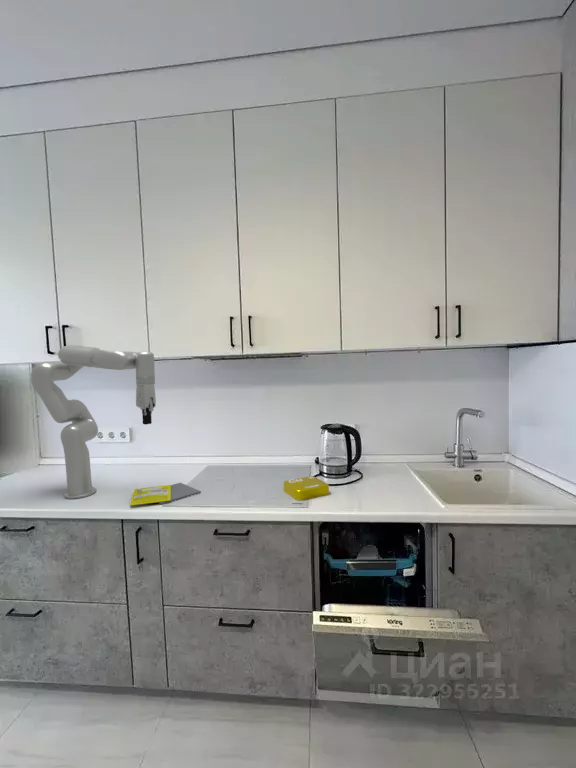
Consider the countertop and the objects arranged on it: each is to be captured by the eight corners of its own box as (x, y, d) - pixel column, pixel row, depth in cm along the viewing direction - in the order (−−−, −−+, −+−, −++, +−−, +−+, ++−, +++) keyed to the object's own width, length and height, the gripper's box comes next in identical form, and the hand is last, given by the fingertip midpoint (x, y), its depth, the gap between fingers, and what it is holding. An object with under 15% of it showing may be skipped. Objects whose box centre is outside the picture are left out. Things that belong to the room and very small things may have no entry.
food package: (134, 490, 176) (129, 506, 157) (134, 487, 176) (129, 503, 157) (170, 486, 180) (170, 501, 161) (170, 483, 180) (170, 498, 161)
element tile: (298, 502, 157) (297, 490, 157) (282, 491, 171) (281, 480, 170) (331, 495, 163) (330, 483, 163) (313, 485, 177) (312, 474, 177)
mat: (142, 494, 173) (142, 493, 172) (180, 484, 185) (180, 482, 185) (161, 505, 159) (160, 503, 159) (200, 492, 172) (200, 491, 172)
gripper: (129, 380, 173) (131, 422, 175) (144, 382, 162) (146, 427, 164) (146, 379, 178) (148, 420, 180) (161, 381, 167) (163, 425, 169)
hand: (147, 423), depth 172 cm, fingers closed
